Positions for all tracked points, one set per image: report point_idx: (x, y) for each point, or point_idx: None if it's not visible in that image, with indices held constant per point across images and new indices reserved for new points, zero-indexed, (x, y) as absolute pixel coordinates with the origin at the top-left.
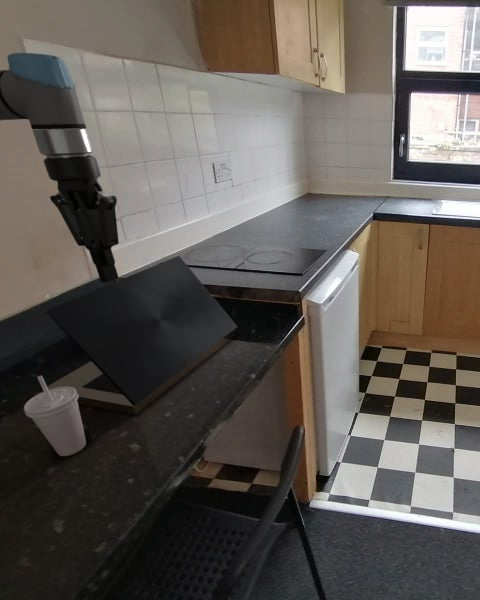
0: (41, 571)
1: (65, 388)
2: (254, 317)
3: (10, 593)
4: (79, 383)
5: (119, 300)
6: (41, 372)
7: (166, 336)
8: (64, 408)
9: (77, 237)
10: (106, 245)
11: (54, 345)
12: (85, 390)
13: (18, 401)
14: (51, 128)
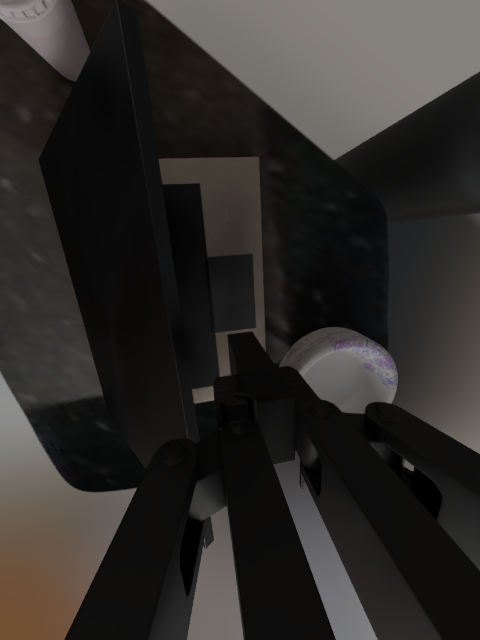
0: None
1: (18, 2)
2: None
3: None
4: (215, 191)
5: (135, 290)
6: (328, 216)
7: (94, 306)
8: None
9: (415, 443)
10: (164, 454)
11: (379, 281)
12: (183, 176)
13: (286, 140)
14: None
